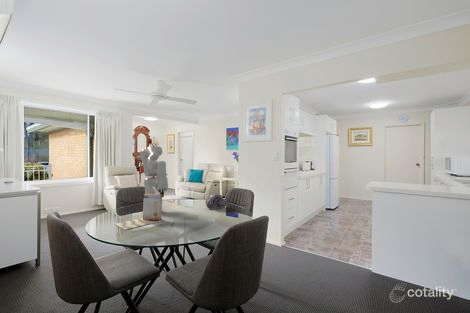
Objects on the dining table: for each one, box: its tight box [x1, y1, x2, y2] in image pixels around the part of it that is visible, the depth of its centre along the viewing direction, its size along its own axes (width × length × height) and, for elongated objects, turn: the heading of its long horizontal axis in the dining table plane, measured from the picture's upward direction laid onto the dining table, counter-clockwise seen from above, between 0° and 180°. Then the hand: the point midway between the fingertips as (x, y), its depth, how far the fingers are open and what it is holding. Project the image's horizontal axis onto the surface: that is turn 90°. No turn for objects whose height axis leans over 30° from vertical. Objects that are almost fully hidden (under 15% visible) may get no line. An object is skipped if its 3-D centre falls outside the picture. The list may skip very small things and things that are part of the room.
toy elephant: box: [205, 193, 228, 210], centre depth 233 cm, size 20×18×15 cm
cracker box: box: [142, 193, 163, 221], centre depth 194 cm, size 14×6×21 cm, turn 84°
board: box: [114, 217, 154, 231], centre depth 183 cm, size 22×20×1 cm
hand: (161, 197), depth 200 cm, fingers closed
